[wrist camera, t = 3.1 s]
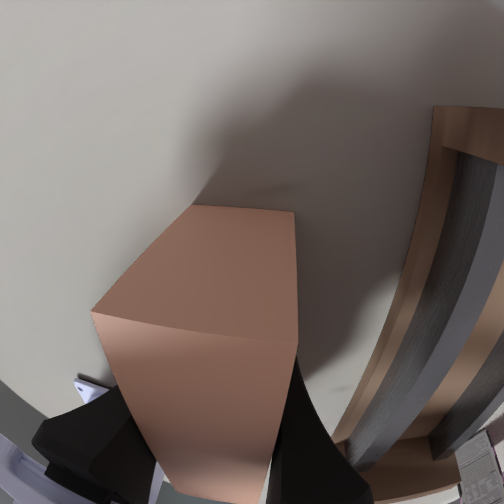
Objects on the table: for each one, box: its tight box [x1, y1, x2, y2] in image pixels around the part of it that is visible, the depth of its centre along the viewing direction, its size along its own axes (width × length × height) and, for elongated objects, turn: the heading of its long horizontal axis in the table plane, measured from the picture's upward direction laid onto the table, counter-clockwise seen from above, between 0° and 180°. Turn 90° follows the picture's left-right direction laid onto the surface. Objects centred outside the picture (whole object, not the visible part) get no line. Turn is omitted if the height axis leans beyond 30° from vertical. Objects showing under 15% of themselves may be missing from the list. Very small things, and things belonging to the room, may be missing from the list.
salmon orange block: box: [90, 205, 298, 504], centre depth 11 cm, size 12×4×7 cm, turn 177°
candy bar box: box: [455, 429, 504, 504], centre depth 12 cm, size 11×5×16 cm, turn 42°
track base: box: [331, 106, 504, 504], centre depth 10 cm, size 22×10×6 cm, turn 177°
